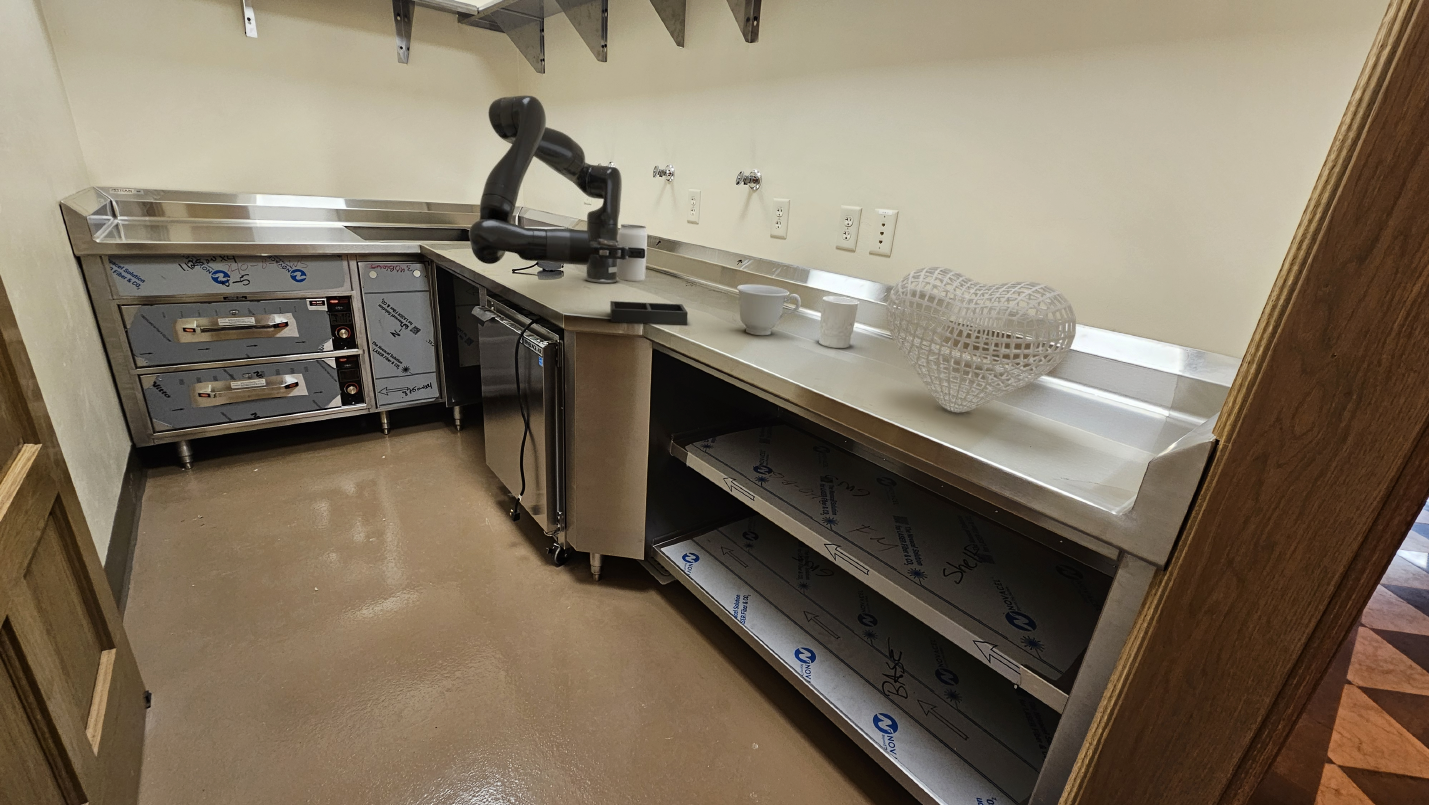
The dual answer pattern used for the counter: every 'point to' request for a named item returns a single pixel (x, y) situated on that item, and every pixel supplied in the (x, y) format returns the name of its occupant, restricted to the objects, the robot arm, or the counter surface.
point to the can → (632, 266)
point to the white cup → (837, 321)
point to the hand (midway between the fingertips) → (642, 251)
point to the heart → (992, 289)
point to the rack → (648, 313)
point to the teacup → (763, 307)
